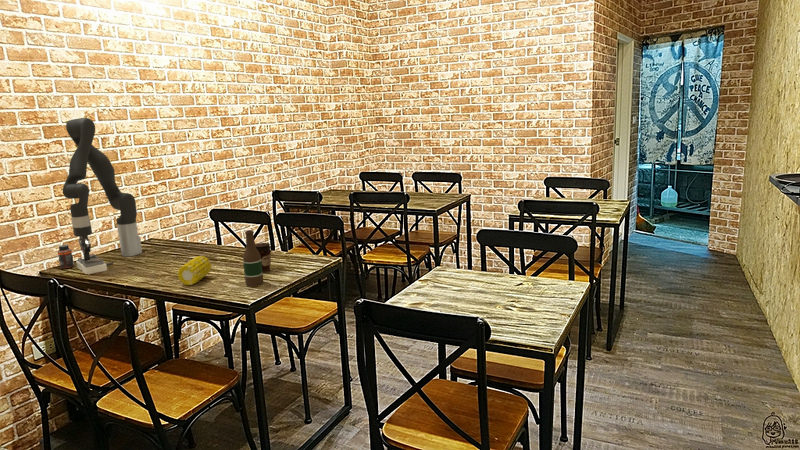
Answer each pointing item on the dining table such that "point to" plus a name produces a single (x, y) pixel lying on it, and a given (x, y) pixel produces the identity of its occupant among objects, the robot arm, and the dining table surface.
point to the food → (194, 270)
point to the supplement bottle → (65, 257)
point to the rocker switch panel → (92, 266)
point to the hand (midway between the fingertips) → (87, 260)
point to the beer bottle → (252, 262)
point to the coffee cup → (264, 255)
